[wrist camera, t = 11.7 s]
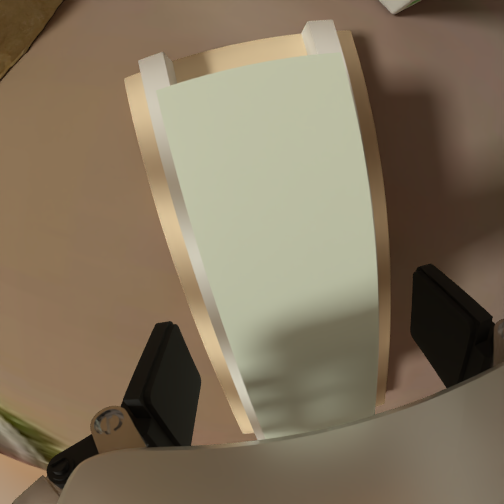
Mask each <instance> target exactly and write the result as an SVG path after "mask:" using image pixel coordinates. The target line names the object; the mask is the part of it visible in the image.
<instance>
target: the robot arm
mask: <svg viewBox="0 0 504 504" xmlns="http://www.w3.org/2000/svg"><path fill="white" fill-rule="evenodd" d="M492 318H493V317H492V316H491V315H490V314H489V313H488V312H487V311H486V310H485V309H484V308H483V307H482V306H480V305H479V304H478V303H477V302H476V301H475V300H474V299H473V298H472V297H470V296H469V295H468V294H467V293H466V292H465V291H464V290H462V289H461V288H460V287H459V286H458V285H457V284H455V283H454V282H453V281H452V280H451V279H449V278H448V277H447V276H446V275H445V274H443V273H442V272H441V271H440V270H438V269H437V268H436V267H435V266H434V265H432V264H428V265H424V266H420V267H418V268H417V270H416V272H414V274H413V293H412V314H411V328H410V330H411V335H412V337H413V339H414V340H415V342H416V343H417V345H418V346H419V347H420V349H421V350H422V352H423V353H424V355H425V356H426V358H427V359H428V361H429V362H430V364H431V365H432V367H433V368H434V370H435V371H436V373H437V374H438V376H439V377H440V379H441V380H442V382H443V383H444V385H445V386H446V388H447V389H444V390H442V391H440V392H437V393H435V394H432V395H430V396H427V397H425V398H422V399H420V400H417V401H414V402H412V403H409V404H406V405H403V406H400V407H398V408H395V409H392V410H389V411H385V412H382V413H379V414H376V415H373V416H369V417H366V418H362V419H359V420H355V421H352V422H348V423H344V424H340V425H336V426H332V427H328V428H323V429H319V430H314V431H309V432H304V433H299V434H294V435H288V436H282V437H276V438H269V439H263V440H255V441H247V442H238V443H227V444H214V445H200V446H191V441H192V435H193V429H194V423H195V417H196V411H197V405H198V399H199V393H200V387H201V378H200V375H199V373H198V370H197V368H196V366H195V364H194V362H193V359H192V357H191V355H190V353H189V350H188V348H187V346H186V343H185V341H184V339H183V336H182V334H181V332H180V329H179V327H178V325H176V324H174V325H173V323H172V322H171V321H169V322H162V323H157V324H156V325H155V327H154V329H153V331H152V333H151V335H150V338H149V340H148V342H147V344H146V347H145V349H144V351H143V353H142V356H141V358H140V360H139V362H138V365H137V367H136V369H135V372H134V374H133V376H132V379H131V381H130V384H129V386H128V388H127V391H126V393H125V396H124V398H123V402H122V404H121V407H120V406H109V407H107V408H104V409H102V410H101V411H99V412H98V413H97V414H96V415H95V416H94V417H93V419H92V421H91V425H90V429H91V433H92V434H91V435H89V436H88V437H86V438H85V439H83V440H81V441H80V442H78V443H76V444H75V445H73V446H71V447H69V448H68V449H66V450H64V451H63V452H61V453H59V454H57V455H56V456H55V457H53V458H52V460H51V461H50V462H49V464H48V466H47V477H46V478H45V477H44V476H43V475H42V476H41V477H40V478H39V479H38V480H37V481H35V482H34V483H33V484H32V485H31V486H30V487H29V488H28V489H26V490H25V491H24V492H23V493H22V494H21V495H20V496H19V497H18V498H16V499H15V500H14V502H13V503H12V504H504V319H501V320H499V321H498V322H497V323H496V324H495V323H493V322H492Z"/></svg>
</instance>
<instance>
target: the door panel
mask: <svg viewBox="0 0 504 504" xmlns="http://www.w3.org/2000/svg"><path fill="white" fill-rule="evenodd" d="M156 93H157V97H158V102H159V106H160V110H161V114H162V118H163V123H164V127H165V131H166V135H167V139H168V142H169V146H170V150H171V154H172V158H173V162H174V165H175V169H176V173H177V177H178V180H179V184H180V187H181V191H182V195H183V198H184V202H185V205H186V209H187V212H188V216H189V219H190V222H191V226H192V229H193V233H194V236H195V239H196V243H197V246H198V249H199V252H200V256H201V259H202V262H203V265H204V268H205V272H206V275H207V278H208V281H209V284H210V287H211V290H212V293H213V296H214V299H215V302H216V305H217V308H218V311H219V314H220V317H221V320H222V323H223V326H224V329H225V332H226V335H227V338H228V341H229V343H230V346H231V349H232V352H233V355H234V358H235V360H236V363H237V366H238V369H239V371H240V374H241V377H242V380H243V382H244V385H245V388H246V390H247V393H248V396H249V398H250V401H251V403H252V406H253V409H254V411H255V414H256V416H257V419H258V421H259V424H260V427H261V429H262V432H263V434H264V437H265V439H269V438H276V437H282V436H288V435H294V434H299V433H304V432H309V431H314V430H319V429H323V428H328V427H332V426H336V425H340V424H344V423H348V422H352V421H355V420H359V419H362V418H366V417H369V416H373V415H375V404H376V391H377V374H378V344H379V307H378V277H377V260H376V246H375V234H374V224H373V214H372V205H371V197H370V190H369V182H368V175H367V169H366V163H365V157H364V151H363V145H362V140H361V134H360V129H359V124H358V119H357V115H356V110H355V106H354V101H353V97H352V93H351V89H350V85H349V81H348V77H347V73H346V69H345V66H344V62H343V58H342V55H341V52H337V53H325V54H315V55H307V56H299V57H291V58H285V59H278V60H272V61H266V62H261V63H256V64H251V65H246V66H241V67H237V68H232V69H228V70H224V71H220V72H216V73H212V74H208V75H204V76H201V77H197V78H194V79H190V80H187V81H184V82H180V83H177V84H174V85H171V86H168V87H165V88H162V89H159V90H156Z"/></svg>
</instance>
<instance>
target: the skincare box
mask: <svg viewBox="0 0 504 504" xmlns="http://www.w3.org/2000/svg"><path fill="white" fill-rule="evenodd" d="M379 1H380V2H381V3H382V4H383V5H384V6H385V7H386V8H387V9H388V10H389V11H390V12H391V13H392V14H397V13H399V12H401V11H402V10H404V9H406V8H408V7H410V6H412V5H413V4H415V3H417V2H419V1H421V0H379Z"/></svg>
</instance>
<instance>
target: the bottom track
mask: <svg viewBox="0 0 504 504" xmlns="http://www.w3.org/2000/svg"><path fill="white" fill-rule="evenodd" d="M337 52H341V55H342V58H343V62H344V66H345V69H346V73H347V77H348V81H349V85H350V89H351V93H352V97H353V101H354V106H355V110H356V115H357V119H358V124H359V129H360V134H361V140H362V145H363V151H364V157H365V163H366V169H367V175H368V182H369V190H370V197H371V205H372V214H373V224H374V234H375V246H376V260H377V277H378V307H379V344H378V374H377V391H376V404H375V407H376V406H379V405H382V404H384V403H385V394H386V384H387V373H388V361H389V344H390V317H391V279H390V251H389V234H388V221H387V209H386V200H385V191H384V182H383V175H382V167H381V160H380V154H379V148H378V142H377V136H376V131H375V125H374V120H373V115H372V110H371V106H370V101H369V97H368V92H367V88H366V84H365V80H364V76H363V72H362V68H361V65H360V61H359V57H358V54H357V50H356V47H355V44H354V40H353V37H352V34H351V31H350V30H347V31H336V29H335V26H334V23H333V20H319V21H308V22H307V23H306V25H305V27H304V29H303V31H302V33H301V34H294V35H286V36H279V37H272V38H266V39H260V40H254V41H249V42H244V43H239V44H234V45H229V46H225V47H221V48H217V49H213V50H209V51H205V52H201V53H198V54H194V55H191V56H187V57H184V58H180V59H177V60H174V61H172V60H171V59H170V58H169V57H168V56H166V55H165V54H164V53H163V52H161V53H158V54H155V55H152V56H150V57H147V58H144V59H142V60H139V61H138V62H139V67H140V73H137V74H135V75H132V76H130V77H127V78H125V79H124V81H125V86H126V91H127V96H128V100H129V105H130V110H131V114H132V118H133V123H134V127H135V131H136V135H137V139H138V143H139V147H140V151H141V155H142V159H143V163H144V166H145V170H146V174H147V177H148V181H149V185H150V188H151V192H152V195H153V199H154V202H155V205H156V209H157V212H158V215H159V219H160V222H161V225H162V228H163V231H164V235H165V238H166V241H167V244H168V247H169V250H170V253H171V256H172V259H173V262H174V265H175V268H176V271H177V274H178V277H179V279H180V282H181V285H182V288H183V291H184V294H185V296H186V299H187V302H188V304H189V307H190V310H191V313H192V315H193V318H194V320H195V323H196V326H197V328H198V331H199V333H200V336H201V339H202V341H203V344H204V346H205V349H206V351H207V353H208V356H209V358H210V361H211V363H212V366H213V368H214V370H215V373H216V375H217V377H218V380H219V382H220V384H221V387H222V389H223V391H224V394H225V396H226V398H227V400H228V402H229V405H230V407H231V409H232V411H233V413H234V416H235V418H236V420H237V422H238V424H239V426H240V428H241V431H242V433H243V434H248V433H255V435H256V437H257V440H263V439H265V437H264V434H263V432H262V429H261V427H260V424H259V421H258V419H257V416H256V414H255V411H254V409H253V406H252V403H251V401H250V398H249V396H248V393H247V390H246V388H245V385H244V382H243V380H242V377H241V374H240V371H239V369H238V366H237V363H236V360H235V358H234V355H233V352H232V349H231V346H230V343H229V341H228V338H227V335H226V332H225V329H224V326H223V323H222V320H221V317H220V314H219V311H218V308H217V305H216V302H215V299H214V296H213V293H212V290H211V287H210V284H209V281H208V278H207V275H206V272H205V268H204V265H203V262H202V259H201V256H200V252H199V249H198V246H197V243H196V239H195V236H194V233H193V229H192V226H191V222H190V219H189V216H188V212H187V209H186V205H185V202H184V198H183V195H182V191H181V187H180V184H179V180H178V177H177V173H176V169H175V165H174V162H173V158H172V154H171V150H170V146H169V142H168V139H167V135H166V131H165V127H164V123H163V118H162V114H161V110H160V106H159V102H158V97H157V93H156V90H159V89H162V88H165V87H168V86H171V85H174V84H177V83H180V82H184V81H187V80H190V79H194V78H197V77H201V76H204V75H208V74H212V73H216V72H220V71H224V70H228V69H232V68H237V67H241V66H246V65H251V64H256V63H261V62H266V61H272V60H278V59H285V58H291V57H299V56H307V55H315V54H325V53H337Z"/></svg>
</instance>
